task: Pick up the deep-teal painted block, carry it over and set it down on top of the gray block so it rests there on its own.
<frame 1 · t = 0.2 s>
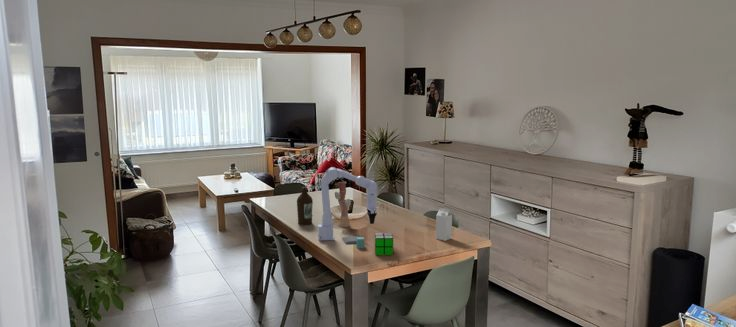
hand: (371, 222, 324), 10 cm above the table, fingers open, 7 cm apart
milk carton: (443, 239, 324), on the table
puzzle cube: (383, 252, 298), on the table
brown statue: (342, 225, 352), on the table
teal block: (360, 247, 307), on the table
gray block: (351, 242, 318), on the table
olive oil: (305, 223, 358), on the table
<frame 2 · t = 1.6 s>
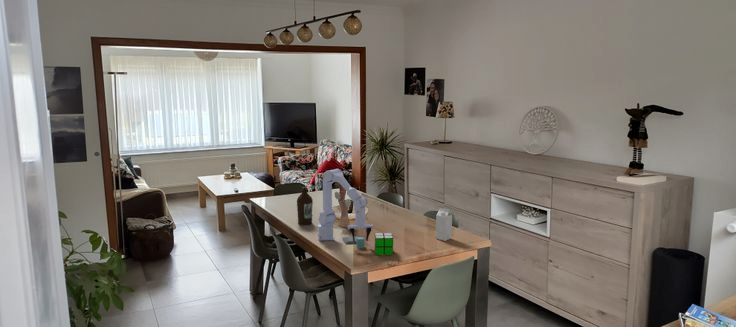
hand: (360, 240, 306), 4 cm above the table, fingers open, 7 cm apart
nothing on the table moved.
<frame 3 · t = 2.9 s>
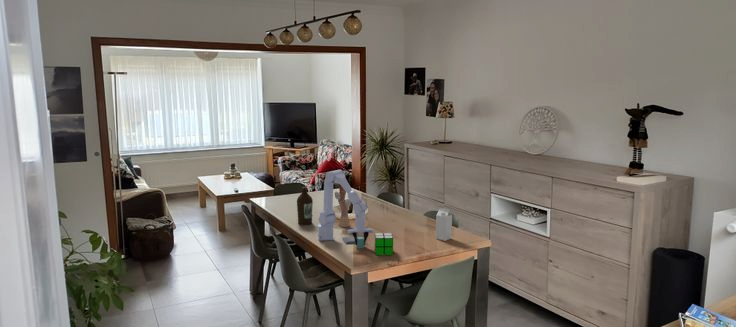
hand: (360, 244, 307), 1 cm above the table, fingers closed on teal block, 4 cm apart
teal block: (360, 247, 307), on the table, touching gripper
everything else where it was.
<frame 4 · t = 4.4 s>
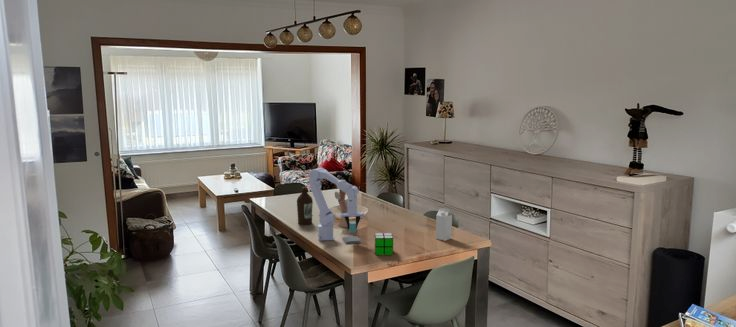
hand: (352, 228, 315), 8 cm above the table, fingers closed on teal block, 4 cm apart
teal block: (352, 231, 315), point 7 cm above the table, touching gripper
everything else where it was.
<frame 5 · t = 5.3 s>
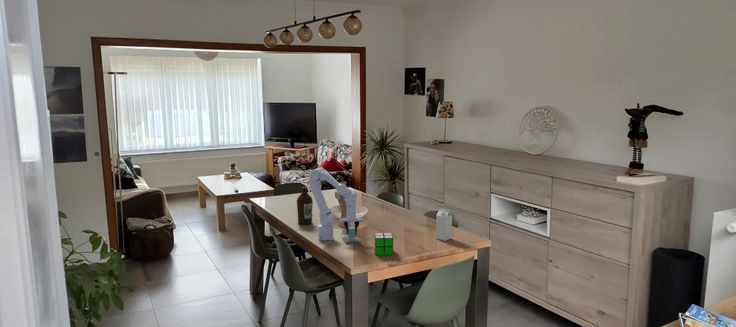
hand: (351, 233, 317), 5 cm above the table, fingers closed on teal block, 4 cm apart
teal block: (351, 236, 317), point 3 cm above the table, touching gripper
everything else where it was.
when the fingers open (5 cm above the table, at t = 6.1 s): teal block drops 1 cm, point 1 cm above the table.
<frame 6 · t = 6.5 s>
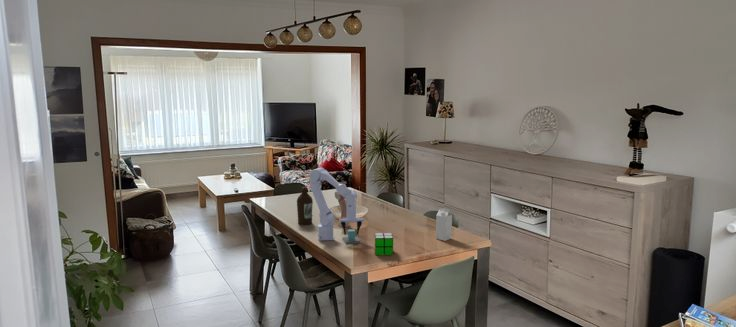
hand: (351, 233, 317), 5 cm above the table, fingers open, 7 cm apart
teal block: (351, 239, 318), point 1 cm above the table
everything else where it was.
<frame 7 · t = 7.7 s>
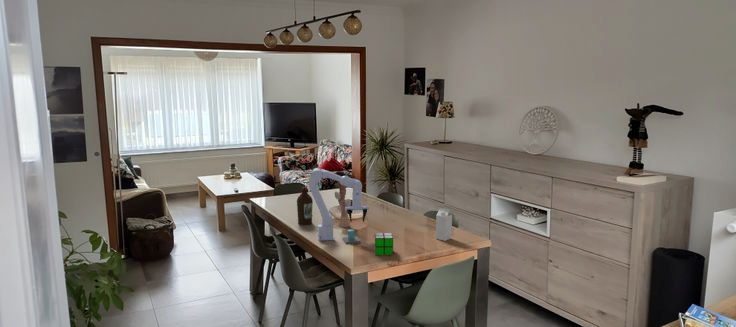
hand: (357, 221, 323), 10 cm above the table, fingers open, 7 cm apart
nothing on the table moved.
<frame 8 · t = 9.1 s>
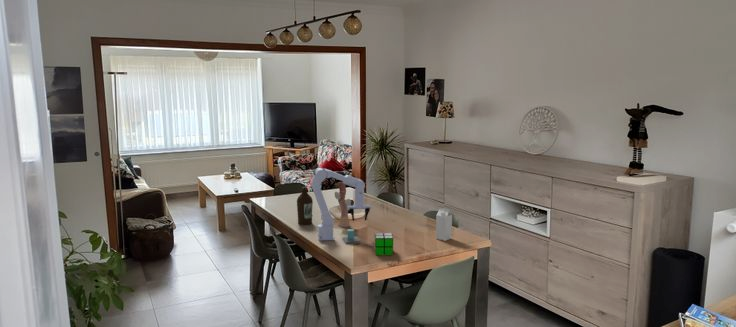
hand: (359, 220, 326), 10 cm above the table, fingers open, 7 cm apart
teal block: (350, 238, 318), point 1 cm above the table, touching gray block
gray block: (351, 242, 318), on the table, touching teal block
everything else where it was.
at the end: teal block 0.4 cm off-centre on the gray block, point 2.1 cm above the gray block's base; teal block tilted 1°; the gripper is holding nothing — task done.
